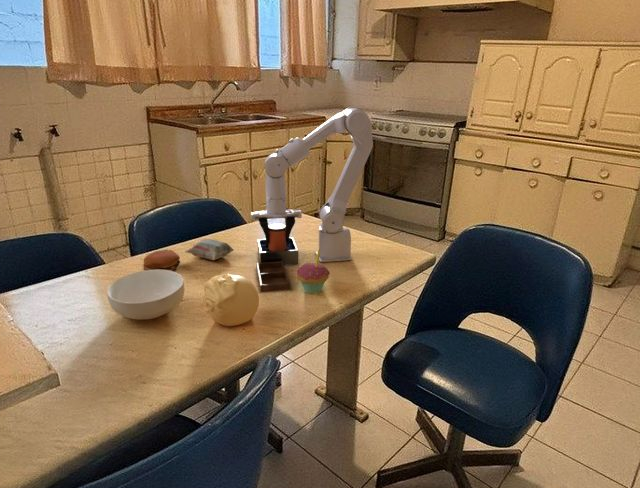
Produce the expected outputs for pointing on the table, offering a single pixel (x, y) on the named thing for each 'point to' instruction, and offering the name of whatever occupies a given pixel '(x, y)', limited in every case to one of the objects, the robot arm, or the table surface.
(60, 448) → the table surface
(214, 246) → the packaged food
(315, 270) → the cupcake
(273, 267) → the tray
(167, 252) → the burger
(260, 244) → the basin
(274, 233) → the container
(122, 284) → the cereal bowl
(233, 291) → the sculpture
